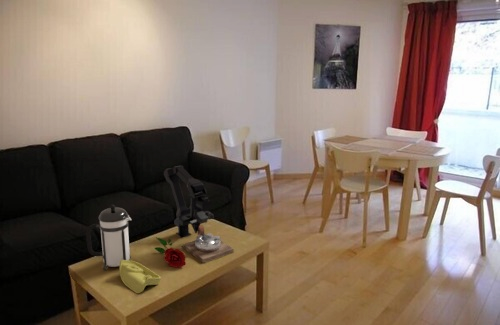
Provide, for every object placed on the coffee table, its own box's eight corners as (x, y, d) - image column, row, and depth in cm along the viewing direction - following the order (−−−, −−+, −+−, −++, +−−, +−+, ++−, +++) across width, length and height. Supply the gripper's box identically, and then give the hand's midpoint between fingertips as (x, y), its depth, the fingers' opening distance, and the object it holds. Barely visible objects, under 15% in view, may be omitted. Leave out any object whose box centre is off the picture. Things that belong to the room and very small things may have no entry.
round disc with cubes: (224, 248, 191) (224, 236, 190) (200, 254, 185) (200, 241, 183) (210, 234, 207) (210, 223, 205) (188, 239, 201) (187, 227, 199)
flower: (150, 227, 194) (179, 253, 172) (165, 230, 200) (195, 256, 179) (143, 243, 193) (171, 271, 172) (157, 246, 200) (187, 273, 178)
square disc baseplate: (183, 247, 196) (183, 244, 196) (212, 238, 207) (212, 235, 207) (203, 263, 181) (203, 259, 181) (233, 252, 192) (233, 248, 192)
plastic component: (162, 278, 164) (145, 278, 156) (156, 294, 163) (139, 295, 155) (135, 260, 175) (118, 259, 167) (130, 275, 175) (112, 275, 167)
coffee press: (121, 252, 190) (116, 196, 183) (139, 263, 180) (136, 204, 173) (88, 265, 177) (82, 206, 170) (106, 277, 167) (101, 215, 160)
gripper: (188, 213, 184) (188, 243, 188) (219, 206, 196) (218, 234, 200) (177, 207, 192) (177, 235, 196) (207, 200, 204) (207, 227, 208)
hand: (195, 233), depth 200 cm, fingers closed
